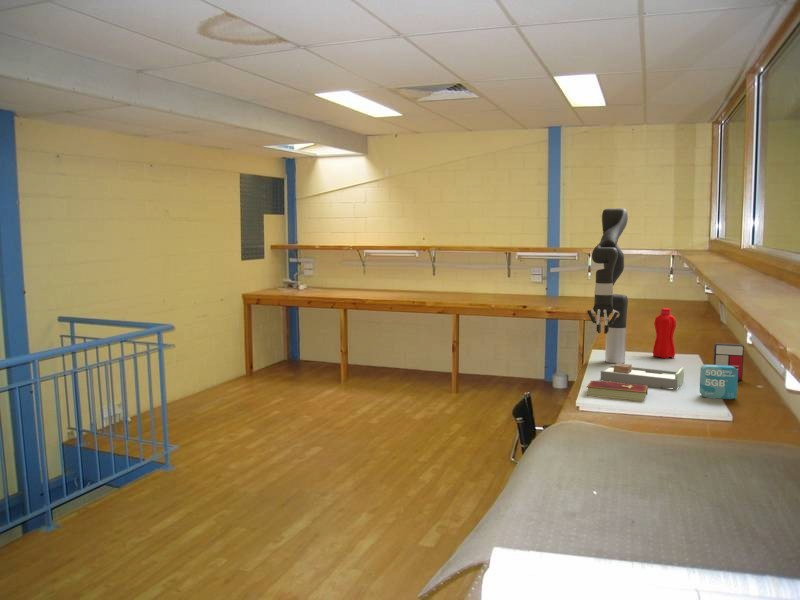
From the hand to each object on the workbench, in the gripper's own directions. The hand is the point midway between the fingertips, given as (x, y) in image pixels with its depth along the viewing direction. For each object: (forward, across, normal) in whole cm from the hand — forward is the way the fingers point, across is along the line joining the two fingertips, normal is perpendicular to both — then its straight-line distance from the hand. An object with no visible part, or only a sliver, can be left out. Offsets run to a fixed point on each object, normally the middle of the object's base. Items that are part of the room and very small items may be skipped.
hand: (602, 333), depth 270 cm
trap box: (+19, -17, 0) cm, 26 cm away
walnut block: (+16, -9, 0) cm, 18 cm away
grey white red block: (+19, -47, -25) cm, 57 cm away
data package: (+19, -47, +13) cm, 52 cm away
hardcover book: (+20, -14, +30) cm, 39 cm away
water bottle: (+19, -14, -65) cm, 69 cm away
